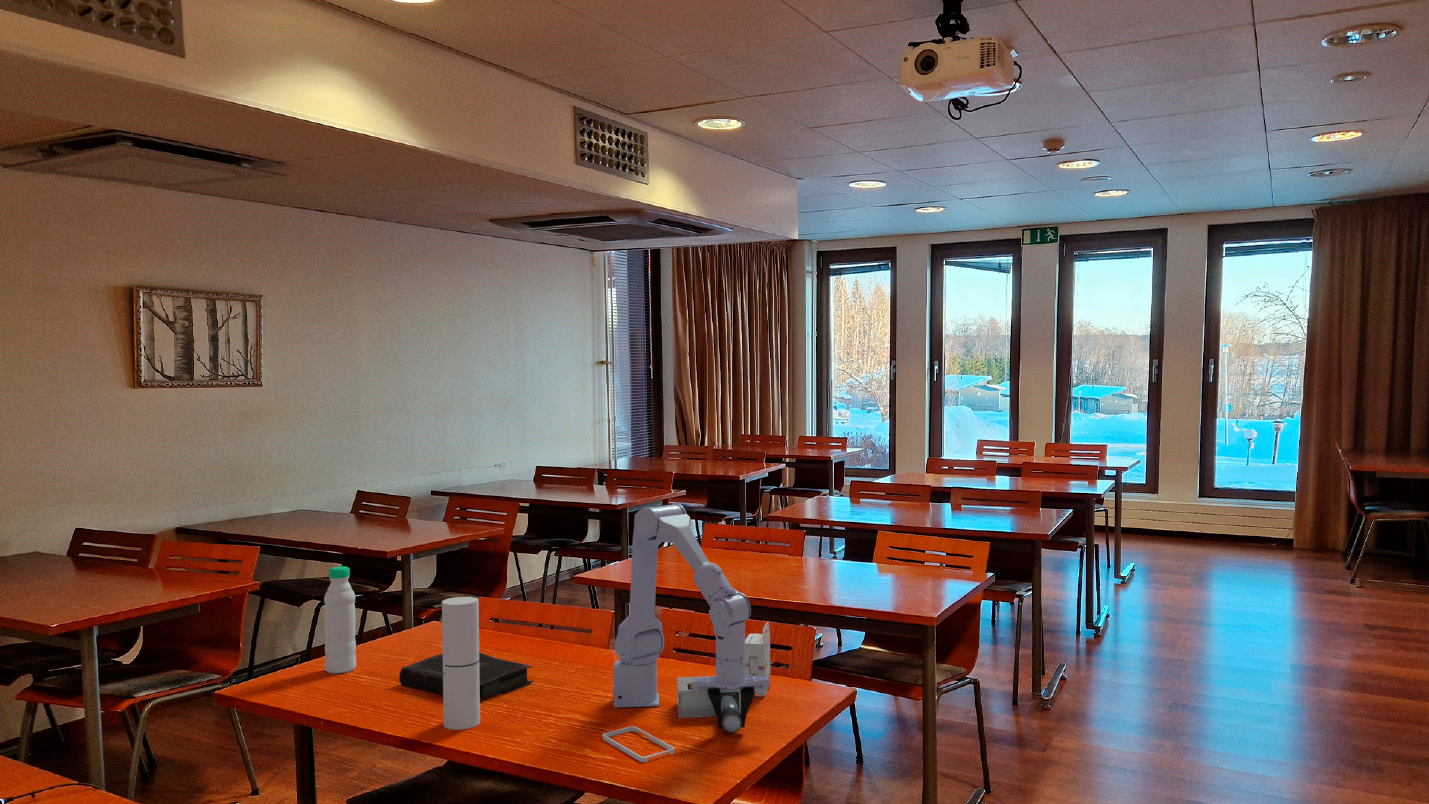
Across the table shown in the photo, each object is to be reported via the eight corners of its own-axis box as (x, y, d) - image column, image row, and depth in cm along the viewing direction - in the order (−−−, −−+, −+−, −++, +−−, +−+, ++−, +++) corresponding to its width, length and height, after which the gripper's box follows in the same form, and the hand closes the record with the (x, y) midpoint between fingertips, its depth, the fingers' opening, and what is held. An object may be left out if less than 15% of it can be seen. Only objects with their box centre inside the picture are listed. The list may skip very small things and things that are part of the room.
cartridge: (722, 733, 181) (722, 714, 180) (717, 711, 193) (717, 693, 193) (742, 733, 181) (741, 713, 181) (736, 711, 193) (736, 693, 193)
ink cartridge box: (749, 684, 214) (748, 619, 214) (770, 685, 213) (770, 620, 213) (743, 696, 205) (742, 629, 205) (765, 697, 204) (764, 630, 204)
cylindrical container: (460, 732, 185) (459, 606, 185) (436, 725, 189) (434, 602, 188) (487, 721, 191) (485, 599, 191) (462, 715, 195) (461, 595, 195)
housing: (678, 717, 192) (678, 690, 192) (677, 703, 201) (677, 677, 201) (746, 715, 193) (746, 688, 193) (742, 701, 202) (742, 675, 202)
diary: (473, 708, 201) (472, 685, 201) (399, 689, 215) (398, 667, 215) (535, 684, 216) (535, 662, 216) (462, 667, 230) (462, 647, 230)
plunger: (690, 694, 193) (690, 686, 193) (689, 690, 196) (689, 681, 196) (705, 694, 193) (704, 685, 193) (704, 689, 196) (704, 681, 196)
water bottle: (362, 668, 228) (361, 566, 228) (337, 676, 222) (335, 571, 222) (344, 664, 232) (342, 563, 232) (318, 671, 226) (317, 568, 226)
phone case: (601, 741, 181) (642, 765, 169) (600, 734, 181) (642, 758, 169) (633, 732, 185) (676, 755, 173) (633, 725, 185) (676, 748, 173)
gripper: (694, 663, 178) (695, 734, 179) (769, 661, 179) (770, 732, 179) (692, 653, 185) (693, 721, 186) (765, 651, 186) (766, 719, 187)
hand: (731, 726), depth 183 cm, fingers closed on cartridge, 4 cm apart
